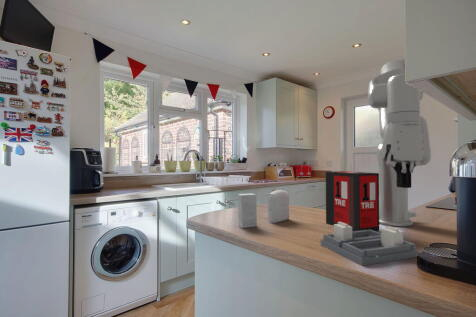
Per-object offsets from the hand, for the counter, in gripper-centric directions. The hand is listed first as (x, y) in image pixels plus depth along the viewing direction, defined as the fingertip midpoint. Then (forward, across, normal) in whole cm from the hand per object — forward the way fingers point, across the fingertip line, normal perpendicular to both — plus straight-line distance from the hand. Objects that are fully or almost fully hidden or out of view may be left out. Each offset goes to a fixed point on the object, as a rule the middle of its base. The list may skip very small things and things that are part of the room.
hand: (403, 187), depth 72 cm
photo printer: (+17, +18, -41) cm, 48 cm away
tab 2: (+15, +5, +1) cm, 16 cm away
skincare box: (+17, +33, -37) cm, 53 cm away
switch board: (+17, +10, -3) cm, 20 cm away
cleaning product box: (+17, -2, -24) cm, 30 cm away
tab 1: (+16, +15, -7) cm, 22 cm away
